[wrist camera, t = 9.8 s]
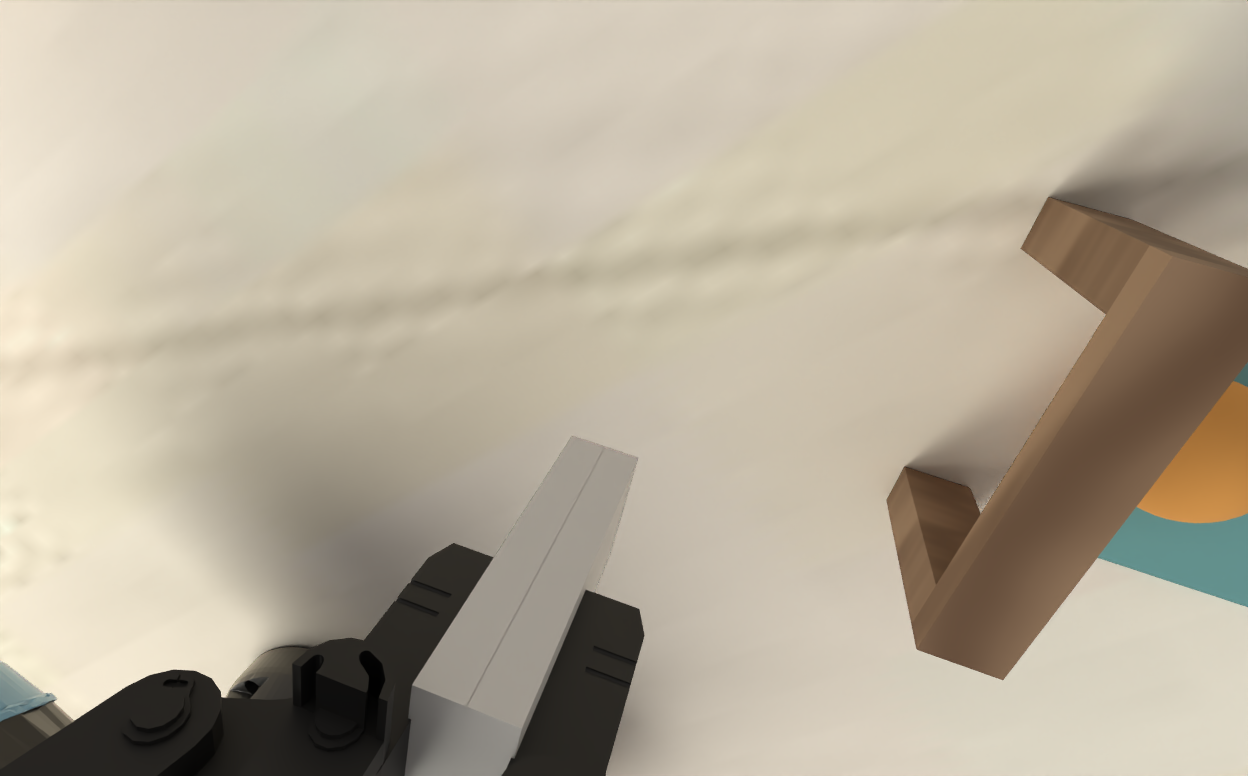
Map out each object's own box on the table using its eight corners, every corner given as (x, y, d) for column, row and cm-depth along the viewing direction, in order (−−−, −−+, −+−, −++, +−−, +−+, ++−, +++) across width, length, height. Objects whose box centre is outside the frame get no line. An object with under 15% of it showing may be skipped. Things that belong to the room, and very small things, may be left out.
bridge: (1131, 219, 24) (1301, 292, 16) (949, 521, 31) (1003, 680, 22) (1048, 196, 24) (1172, 256, 16) (886, 500, 31) (916, 649, 23)
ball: (1058, 451, 28) (1205, 503, 27) (1078, 510, 24) (1257, 578, 22) (1126, 335, 26) (1291, 385, 24) (1162, 376, 21) (1370, 441, 20)
